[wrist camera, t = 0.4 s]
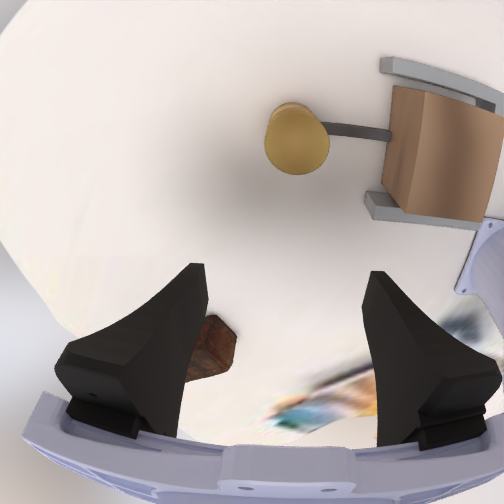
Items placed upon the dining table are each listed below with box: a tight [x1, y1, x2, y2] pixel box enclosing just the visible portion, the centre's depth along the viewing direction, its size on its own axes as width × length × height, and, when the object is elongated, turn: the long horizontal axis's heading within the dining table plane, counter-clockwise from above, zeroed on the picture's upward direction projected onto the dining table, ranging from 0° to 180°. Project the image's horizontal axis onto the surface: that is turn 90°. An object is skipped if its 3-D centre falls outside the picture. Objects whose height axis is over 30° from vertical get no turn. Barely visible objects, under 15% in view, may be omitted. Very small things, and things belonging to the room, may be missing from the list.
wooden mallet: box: [264, 86, 504, 223], centre depth 15 cm, size 14×7×6 cm, turn 90°
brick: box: [185, 316, 237, 383], centre depth 29 cm, size 11×4×5 cm, turn 125°
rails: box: [365, 57, 504, 231], centre depth 16 cm, size 9×10×2 cm
